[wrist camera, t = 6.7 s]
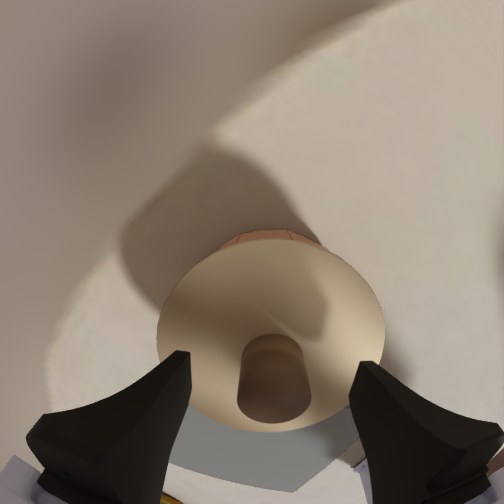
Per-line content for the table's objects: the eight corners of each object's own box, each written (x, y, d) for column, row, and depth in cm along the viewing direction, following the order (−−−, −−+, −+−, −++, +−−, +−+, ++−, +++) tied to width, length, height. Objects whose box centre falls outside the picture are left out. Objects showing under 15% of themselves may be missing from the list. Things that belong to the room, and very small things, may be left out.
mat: (292, 490, 24) (292, 492, 24) (162, 457, 23) (161, 459, 22) (378, 412, 20) (380, 415, 20) (209, 362, 19) (208, 365, 19)
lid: (310, 438, 15) (317, 481, 12) (141, 381, 15) (118, 423, 11) (416, 295, 13) (455, 327, 9) (208, 195, 12) (185, 201, 8)
